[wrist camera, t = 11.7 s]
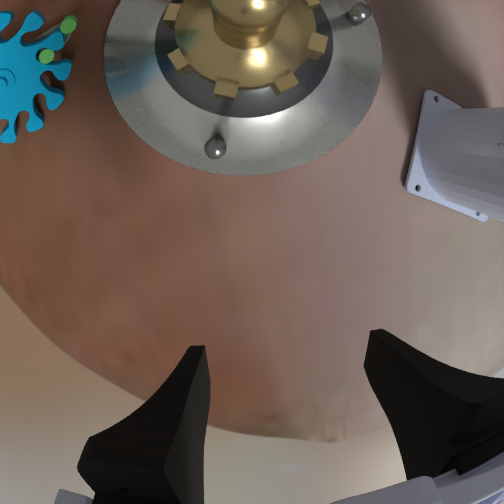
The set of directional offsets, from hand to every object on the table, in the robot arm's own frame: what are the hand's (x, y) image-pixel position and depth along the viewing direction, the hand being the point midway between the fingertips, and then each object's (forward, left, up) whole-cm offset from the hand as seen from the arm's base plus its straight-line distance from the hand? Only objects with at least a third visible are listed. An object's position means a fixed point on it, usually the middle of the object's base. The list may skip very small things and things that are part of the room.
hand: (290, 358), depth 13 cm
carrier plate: (+5, -15, -9) cm, 18 cm away
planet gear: (+5, -15, -8) cm, 18 cm away
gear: (+20, -11, -10) cm, 24 cm away
